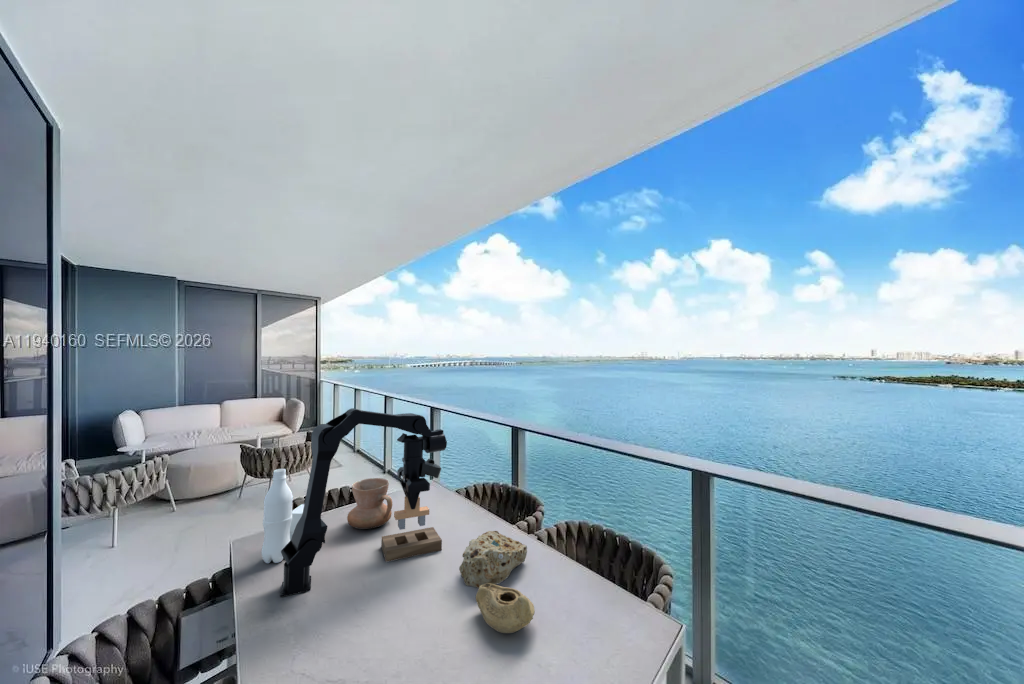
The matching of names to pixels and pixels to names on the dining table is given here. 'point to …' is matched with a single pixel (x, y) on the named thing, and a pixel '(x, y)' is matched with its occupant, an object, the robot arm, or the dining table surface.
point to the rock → (491, 559)
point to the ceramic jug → (370, 504)
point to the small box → (296, 518)
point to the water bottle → (277, 518)
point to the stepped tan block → (411, 513)
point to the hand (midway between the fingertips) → (411, 507)
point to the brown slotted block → (410, 544)
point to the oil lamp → (504, 608)
